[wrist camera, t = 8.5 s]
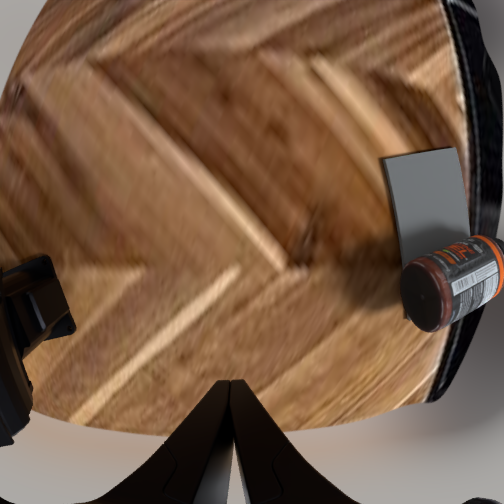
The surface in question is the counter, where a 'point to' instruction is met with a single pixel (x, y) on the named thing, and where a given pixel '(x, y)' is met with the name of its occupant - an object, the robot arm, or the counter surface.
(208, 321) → the counter surface
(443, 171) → the pad
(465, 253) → the supplement bottle
